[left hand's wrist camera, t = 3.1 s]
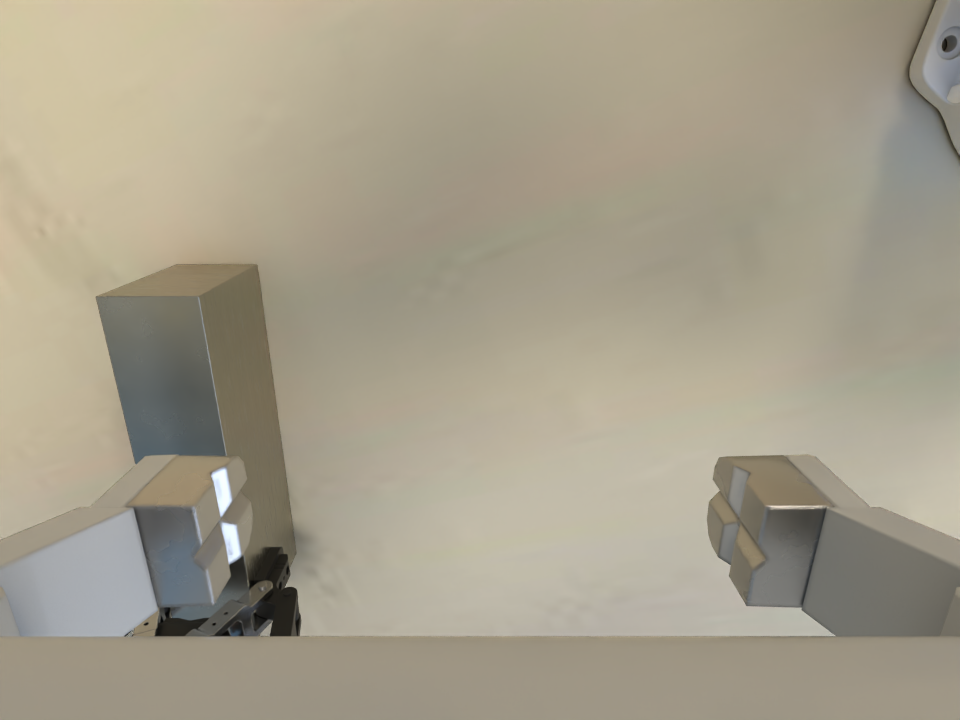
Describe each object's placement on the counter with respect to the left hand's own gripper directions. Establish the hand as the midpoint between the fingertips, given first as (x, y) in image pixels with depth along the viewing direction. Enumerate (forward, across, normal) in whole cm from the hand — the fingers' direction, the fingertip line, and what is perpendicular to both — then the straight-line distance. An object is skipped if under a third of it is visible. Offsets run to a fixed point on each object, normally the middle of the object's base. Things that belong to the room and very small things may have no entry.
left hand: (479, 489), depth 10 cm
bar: (+30, +18, +14) cm, 37 cm away
